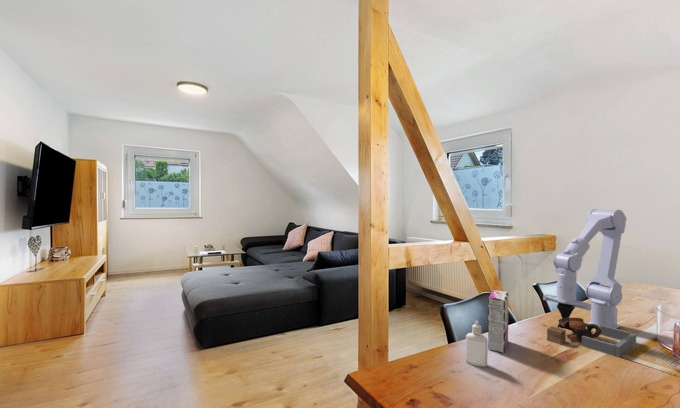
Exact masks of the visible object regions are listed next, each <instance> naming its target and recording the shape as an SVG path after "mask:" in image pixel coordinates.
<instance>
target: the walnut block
mask: <svg viewBox="0 0 680 408" xmlns="http://www.w3.org/2000/svg"><path fill="white" fill-rule="evenodd" d="M546 329H547V330H546V340H547V342H551V343H553V344H557V345H563V344H564V343H566V341H567V340H566V337H567V335H566V331H567V329H563V328H560V327H559V328H557V327H556V326H553V325H552V326H550V327H548V328H546Z"/></svg>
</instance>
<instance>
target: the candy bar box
mask: <svg viewBox="0 0 680 408" xmlns="http://www.w3.org/2000/svg"><path fill="white" fill-rule="evenodd" d="M487 304H488V305H487V306H488V312H487V313H488V314H487V315H488V319H487V320H488V323H487V324H488V325H487V326H488V331H487V332H488V334H487V335H488V336H487V337H488V338H487V340H488V348H487V350H489V351H492V352H498V353H503V354H505V353H506V349H507V346H508V342H509V291H503V290H496V289H493V290H492V291H491V293H490V295H489V297H488V303H487Z"/></svg>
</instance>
